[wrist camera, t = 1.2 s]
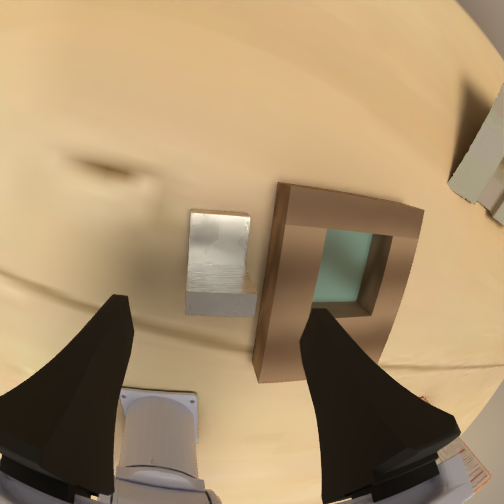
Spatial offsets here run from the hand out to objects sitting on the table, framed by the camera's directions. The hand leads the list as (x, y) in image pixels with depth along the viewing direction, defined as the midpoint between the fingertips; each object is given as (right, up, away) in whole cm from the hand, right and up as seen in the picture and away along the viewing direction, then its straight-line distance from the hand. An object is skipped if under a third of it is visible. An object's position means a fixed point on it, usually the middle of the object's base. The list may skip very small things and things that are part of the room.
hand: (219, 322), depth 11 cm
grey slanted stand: (+30, +14, +13) cm, 36 cm away
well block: (+8, 0, +13) cm, 15 cm away
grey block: (-1, +3, +10) cm, 11 cm away
